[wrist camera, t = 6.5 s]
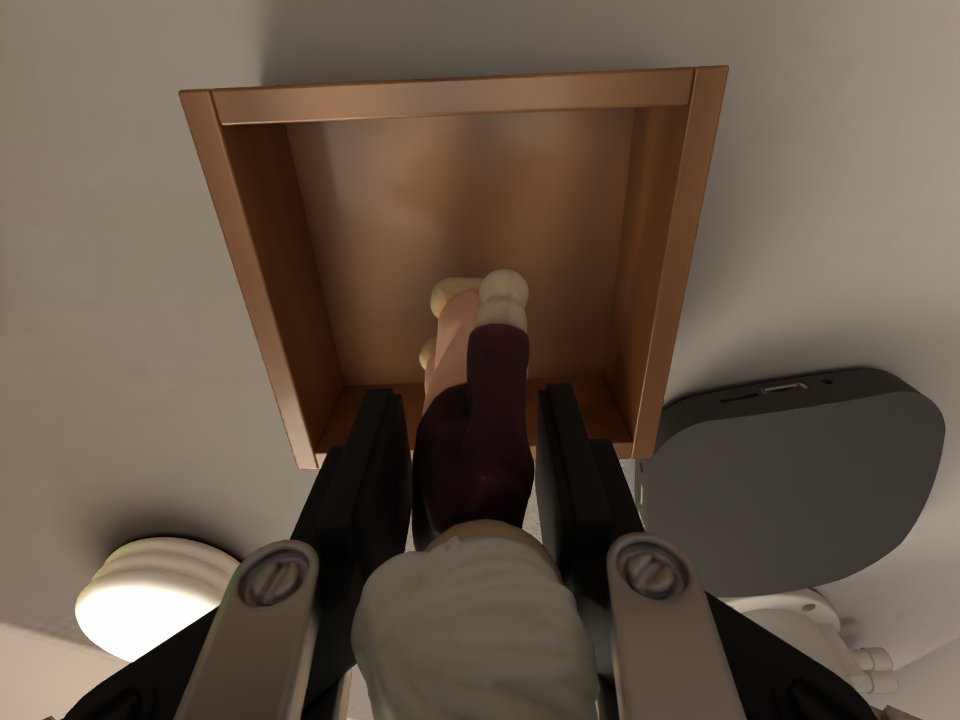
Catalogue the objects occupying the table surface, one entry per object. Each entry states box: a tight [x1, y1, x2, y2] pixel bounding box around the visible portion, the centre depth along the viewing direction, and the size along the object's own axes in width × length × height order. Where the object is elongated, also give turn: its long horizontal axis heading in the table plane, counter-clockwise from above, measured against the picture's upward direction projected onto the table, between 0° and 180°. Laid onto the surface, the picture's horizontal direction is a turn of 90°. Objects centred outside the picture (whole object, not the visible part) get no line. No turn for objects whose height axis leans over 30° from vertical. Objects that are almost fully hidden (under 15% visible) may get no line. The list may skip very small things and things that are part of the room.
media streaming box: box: [635, 369, 945, 598], centre depth 26 cm, size 15×15×3 cm
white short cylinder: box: [75, 537, 241, 662], centre depth 31 cm, size 10×10×4 cm
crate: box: [179, 65, 729, 469], centre depth 18 cm, size 15×14×6 cm
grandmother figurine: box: [351, 269, 601, 720], centre depth 11 cm, size 8×4×13 cm, turn 175°
